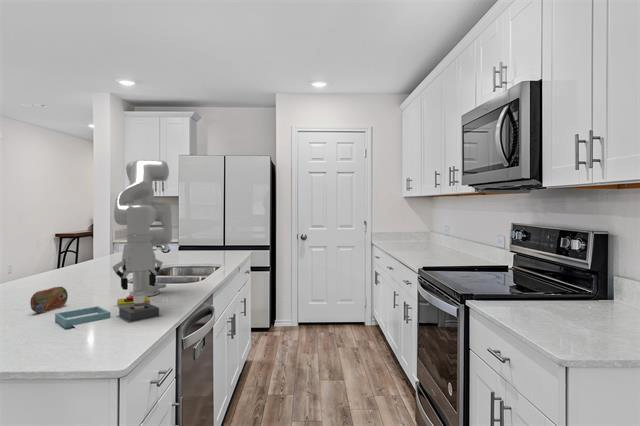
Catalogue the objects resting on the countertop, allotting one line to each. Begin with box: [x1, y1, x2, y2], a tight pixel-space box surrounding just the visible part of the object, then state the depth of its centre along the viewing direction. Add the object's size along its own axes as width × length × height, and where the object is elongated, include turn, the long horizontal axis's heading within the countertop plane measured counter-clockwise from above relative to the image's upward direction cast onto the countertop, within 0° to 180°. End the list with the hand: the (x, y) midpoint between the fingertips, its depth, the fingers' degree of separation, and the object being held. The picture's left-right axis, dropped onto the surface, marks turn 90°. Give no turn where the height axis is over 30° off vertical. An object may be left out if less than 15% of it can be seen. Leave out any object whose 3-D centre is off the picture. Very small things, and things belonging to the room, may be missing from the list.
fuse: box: [132, 290, 145, 310], centre depth 147 cm, size 4×4×9 cm
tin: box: [29, 286, 69, 314], centre depth 159 cm, size 15×3×8 cm, turn 168°
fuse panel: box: [115, 303, 163, 324], centre depth 147 cm, size 12×12×4 cm
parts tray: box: [54, 305, 111, 330], centre depth 144 cm, size 14×12×3 cm
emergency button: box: [113, 295, 151, 309], centre depth 165 cm, size 9×4×15 cm
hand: (138, 287), depth 146 cm, fingers open, 9 cm apart
